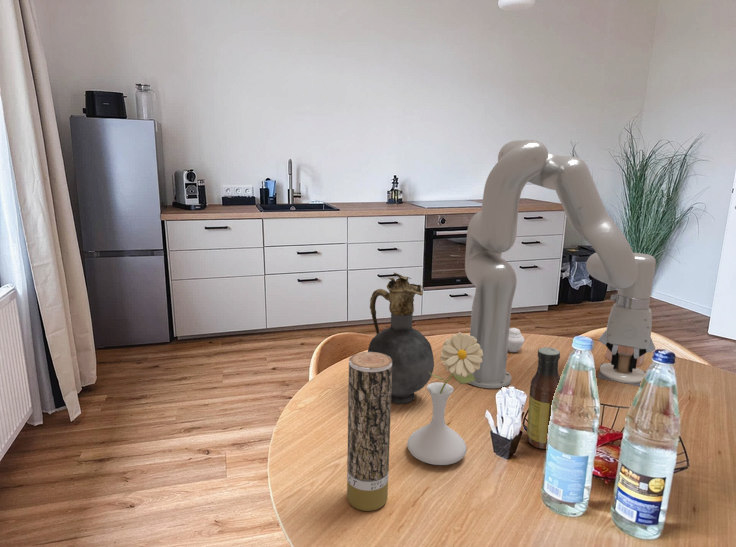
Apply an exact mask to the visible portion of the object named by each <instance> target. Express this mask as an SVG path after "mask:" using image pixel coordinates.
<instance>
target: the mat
mask: <svg viewBox="0 0 736 547" xmlns="http://www.w3.org/2000/svg"><path fill="white" fill-rule="evenodd" d="M602 364H604V362H602V363H600V366H601V365H602ZM642 371H643V372H644V373H646V374H647V371H646V370H642ZM597 378H598V379H601V380H604V381H605V380H606V381H610V382H615V383H616V382H617V383H620V384H623V383H622V382H618V381H614V380H611V379H609V378H607V377H605V376H603V375H602V374H601V373H600V370H599V372H598V377H597ZM624 384H627V385H631V386H636V387H640V383H635V384H631V383H624Z"/></svg>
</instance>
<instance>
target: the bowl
mask: <svg viewBox="0 0 736 547" xmlns="http://www.w3.org/2000/svg"><path fill="white" fill-rule="evenodd" d="M617 350H618V353H628V354H630V355H632V354H633V353H634V348H632V347H626V346H620V345H619V346H618V349H617ZM605 354H606V355H605V358H606V359H608V360H609V361H610V362H611V360H612V353H611V351H610V350H609V349H608V348H607V347H606V353H605ZM645 355H646V353H645V354H644V355H642V356H640V357H639V358H638V359H637V364H636V367H640V366H641V365H643V364H644V360H645Z"/></svg>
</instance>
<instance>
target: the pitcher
mask: <svg viewBox="0 0 736 547" xmlns="http://www.w3.org/2000/svg"><path fill="white" fill-rule="evenodd" d="M393 274H395V276H396V277H398V278H397V279H395V277H392V278H391V277H388V279H389V280H390V281H388V283H387V285H386V289H387V290H388V291H387V290H386V289H383V288H378V289H376V290H374V291H373V292H372V294H371V297H370V298H369V309H370V314H371V318H372V321H373V322H372V323H373V325H374V328H375V329H374V330H375V332H376V335H375V336H373V338H372V339H371V340H370V343H369V345H368V348H367V352H377V353H382V354H385V355H387V356H389V357H390V358H391V359H392V388H391V404H392V403H393V404H399V405H400V404H401V405H403V404H409V403H412V402H413V401H414V400H415V397H416V395H415V393H417V392H419V391H420V390H422V389H423V388H424V387H425V386H427V385H428V382H429V381H430V379H431V377H433V376H432V375H430V374H429V372H430V373H431V374H433V373H434V368H435V358H434V353H433V348H432V345H431V342H430V341H429V340H428V338H427V337H425V335H424V334H422V333H421V331H419V330H418V329H416V328H413V314H414V312H415V307H414V306H415V304H414V301H415V299H414V298H415V295H416V294H417V295H419V296H423V294H424V291H423V290H422V288H423V286H422V285H421V284H415V283H410V282H409V280H410V279H411V280H412V278H411V277H409V276H403V275H402V274H400V273H397V272H394V271H393ZM379 296H380V297H383V298H384V299H385V300H386V301H388V302H389V308H388V309H389V313H390V327H386V328H384V329H382V330H381V331H380V329H379V328H380V327H379V324H378V319H377V310H376V302H377V299H378V297H379ZM428 371H429V372H428Z"/></svg>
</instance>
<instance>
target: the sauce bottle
mask: <svg viewBox="0 0 736 547" xmlns="http://www.w3.org/2000/svg"><path fill="white" fill-rule="evenodd" d="M560 355H561V353H560V350H559V349H557V348H553V347H547V346H545V347H544V346H543V347H540V348H539V349H538V350H537V358H538V360H537V361H538V362H537V367H536V371H535V374H534V376H533V377H532V378H531V381H530V387H529V399H528V411H527V412H528V413H527V429H526V432H527V440H528V442H529V444H531V445H532V446H533V447H535V448H537V449H542V450H547V449H546V444H547V433H548V425H549V421H550V416H551V405H552V400H553V396H554V393H555V390H556V388H557V385H558V383H559V380H560V378H561V376H560V374H559V360H560V358H561V356H560Z"/></svg>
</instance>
